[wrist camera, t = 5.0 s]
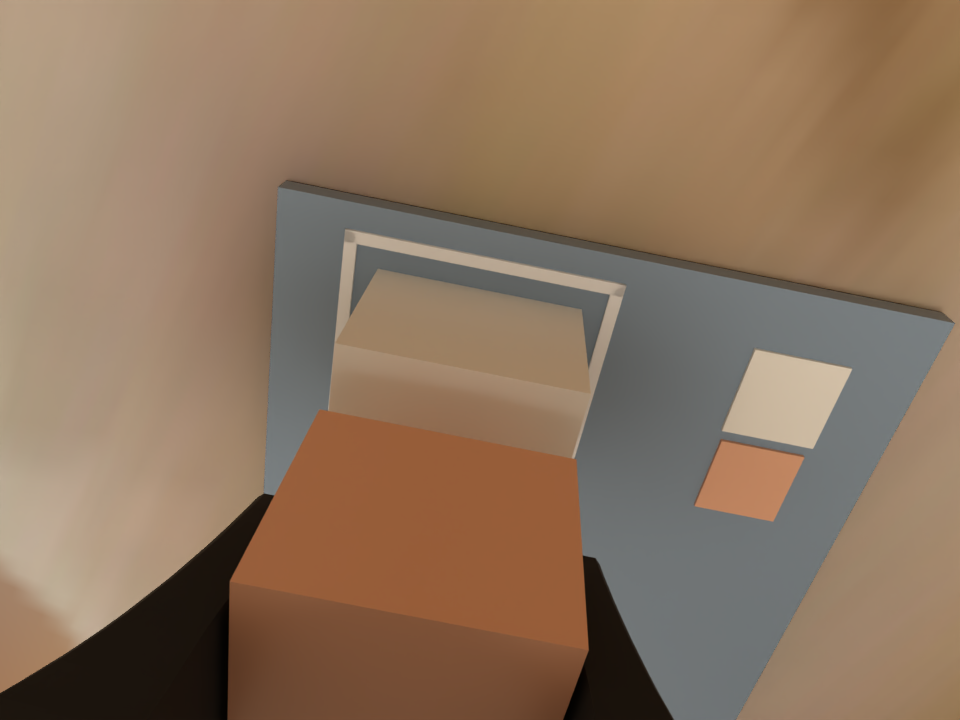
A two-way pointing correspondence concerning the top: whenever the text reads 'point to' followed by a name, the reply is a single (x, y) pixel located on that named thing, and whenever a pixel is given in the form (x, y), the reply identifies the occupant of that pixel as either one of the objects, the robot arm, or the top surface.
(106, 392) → the top surface
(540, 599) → the terracotta block
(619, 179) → the top surface
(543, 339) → the base block
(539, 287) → the board
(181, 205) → the top surface
